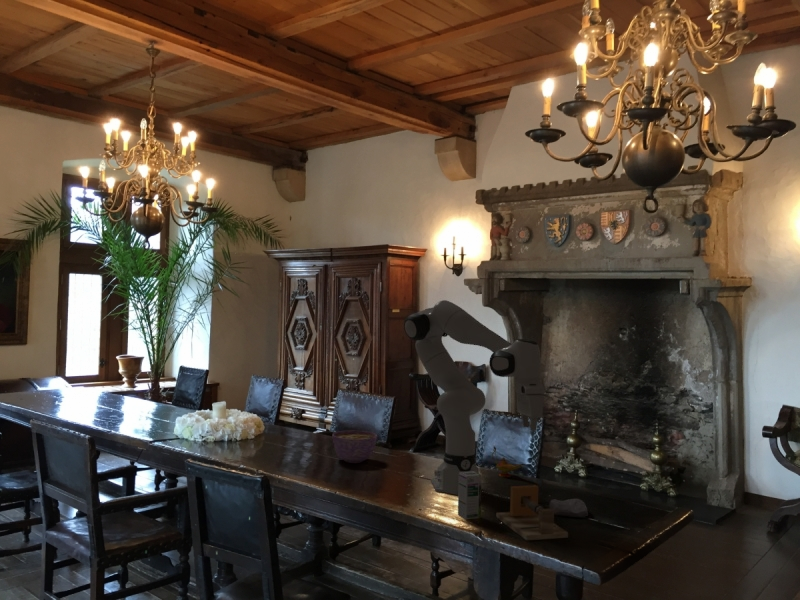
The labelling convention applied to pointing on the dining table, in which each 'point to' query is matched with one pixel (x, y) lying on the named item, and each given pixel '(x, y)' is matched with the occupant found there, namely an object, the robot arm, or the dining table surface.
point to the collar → (516, 499)
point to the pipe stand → (533, 522)
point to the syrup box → (469, 495)
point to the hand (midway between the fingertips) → (529, 428)
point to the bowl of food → (354, 445)
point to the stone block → (569, 508)
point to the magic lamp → (505, 466)
